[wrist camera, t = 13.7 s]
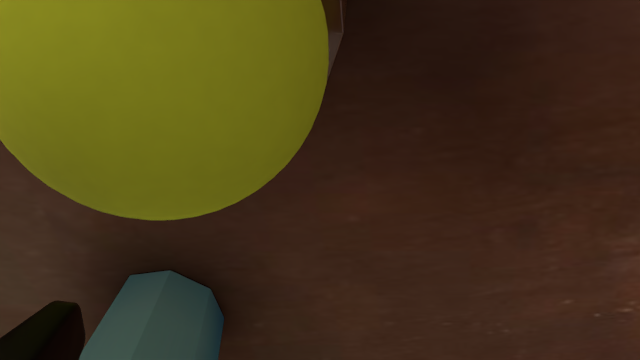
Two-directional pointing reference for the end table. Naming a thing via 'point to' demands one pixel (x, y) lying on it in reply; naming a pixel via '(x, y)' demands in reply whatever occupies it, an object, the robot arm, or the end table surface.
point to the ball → (159, 97)
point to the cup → (159, 321)
